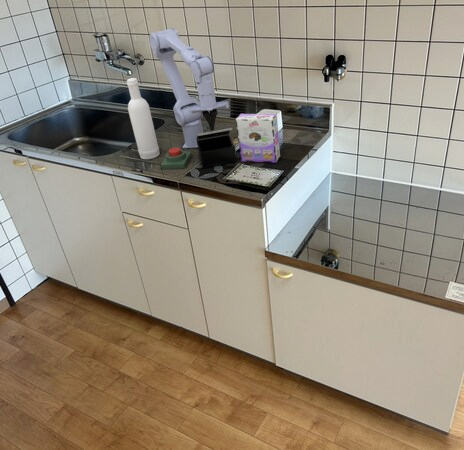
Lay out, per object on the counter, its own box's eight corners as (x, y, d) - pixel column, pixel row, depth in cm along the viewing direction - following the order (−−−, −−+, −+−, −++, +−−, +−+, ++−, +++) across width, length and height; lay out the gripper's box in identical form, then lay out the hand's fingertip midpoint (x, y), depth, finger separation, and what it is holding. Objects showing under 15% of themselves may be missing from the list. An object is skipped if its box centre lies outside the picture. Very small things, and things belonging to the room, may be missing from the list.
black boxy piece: (237, 162, 171) (234, 146, 168) (203, 168, 170) (200, 152, 166) (231, 149, 181) (229, 134, 178) (199, 155, 180) (196, 140, 176)
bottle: (141, 152, 188) (122, 77, 172) (160, 149, 188) (143, 74, 172) (139, 160, 181) (119, 83, 165) (159, 158, 182) (141, 80, 165)
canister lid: (232, 129, 165) (232, 127, 165) (197, 136, 164) (196, 134, 164) (229, 134, 178) (228, 132, 178) (196, 140, 176) (196, 138, 176)
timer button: (171, 152, 177) (170, 147, 176) (182, 151, 177) (181, 147, 176) (168, 157, 174) (167, 152, 173) (179, 156, 173) (178, 152, 172)
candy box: (280, 156, 172) (277, 113, 163) (276, 163, 167) (272, 119, 158) (245, 154, 176) (240, 112, 167) (240, 161, 172) (234, 118, 163)
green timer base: (169, 156, 182) (167, 147, 180) (191, 155, 181) (190, 146, 179) (161, 169, 173) (159, 160, 171) (184, 168, 172) (183, 159, 170)
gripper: (187, 100, 161) (194, 136, 169) (228, 93, 163) (233, 129, 170) (185, 94, 167) (191, 130, 174) (225, 87, 169) (229, 123, 176)
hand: (212, 129), depth 173 cm, fingers closed
